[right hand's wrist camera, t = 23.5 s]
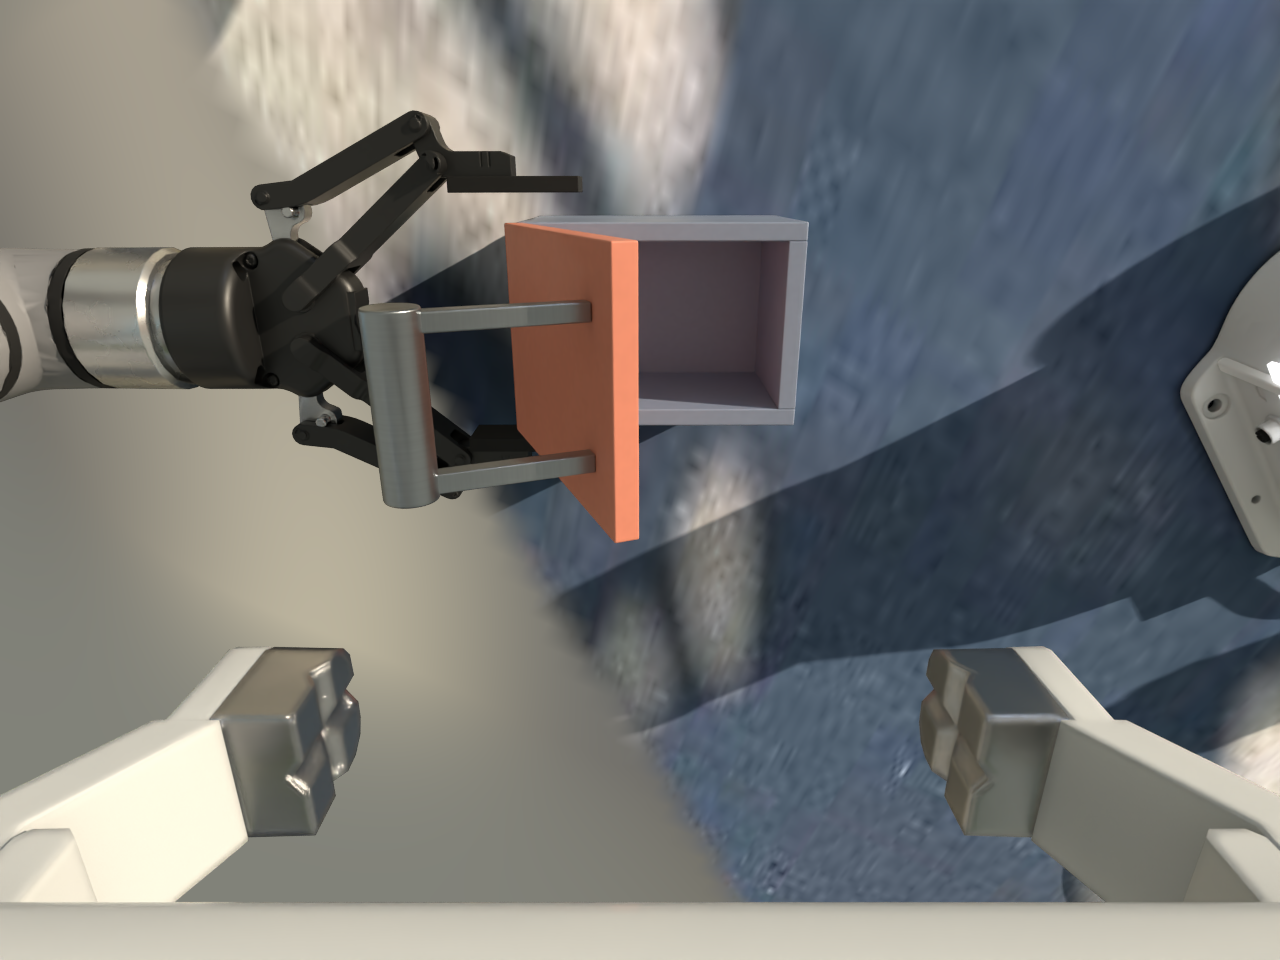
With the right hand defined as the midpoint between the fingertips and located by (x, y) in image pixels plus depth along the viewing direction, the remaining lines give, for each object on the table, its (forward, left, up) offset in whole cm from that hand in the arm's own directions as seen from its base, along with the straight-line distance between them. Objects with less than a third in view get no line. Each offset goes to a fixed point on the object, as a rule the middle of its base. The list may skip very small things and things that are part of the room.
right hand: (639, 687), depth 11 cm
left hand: (+1, +3, -32) cm, 33 cm away
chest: (0, -1, -39) cm, 39 cm away
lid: (+1, +3, -22) cm, 22 cm away
